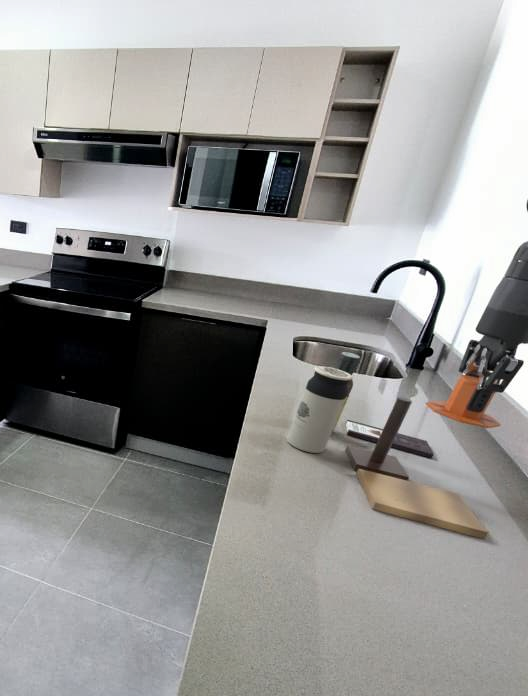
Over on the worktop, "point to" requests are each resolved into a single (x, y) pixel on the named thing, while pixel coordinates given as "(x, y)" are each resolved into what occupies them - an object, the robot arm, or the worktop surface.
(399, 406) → the hat stand
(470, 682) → the worktop surface
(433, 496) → the oak board
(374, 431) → the chocolate bar
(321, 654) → the worktop surface
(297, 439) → the travel mug
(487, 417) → the hat
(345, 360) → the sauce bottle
